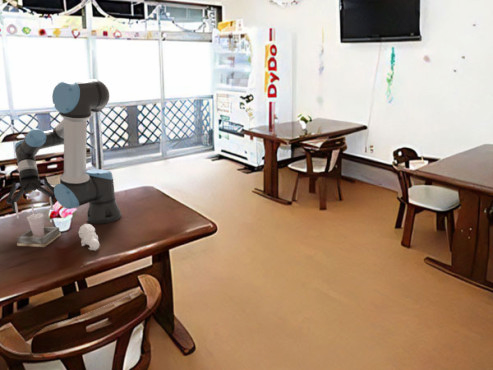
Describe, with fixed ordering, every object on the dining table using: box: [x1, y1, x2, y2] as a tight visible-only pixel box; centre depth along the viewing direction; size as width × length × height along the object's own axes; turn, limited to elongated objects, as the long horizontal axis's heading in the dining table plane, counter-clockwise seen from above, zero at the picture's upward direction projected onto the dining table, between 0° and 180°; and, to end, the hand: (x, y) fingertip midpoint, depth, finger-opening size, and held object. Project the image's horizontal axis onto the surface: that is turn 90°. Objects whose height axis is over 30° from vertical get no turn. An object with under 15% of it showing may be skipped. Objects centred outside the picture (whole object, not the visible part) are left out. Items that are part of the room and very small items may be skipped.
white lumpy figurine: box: [78, 223, 101, 251], centre depth 167 cm, size 6×8×12 cm
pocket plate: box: [16, 226, 62, 248], centre depth 175 cm, size 12×12×4 cm
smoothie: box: [26, 205, 45, 237], centre depth 173 cm, size 6×6×14 cm
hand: (35, 214), depth 181 cm, fingers open, 13 cm apart
